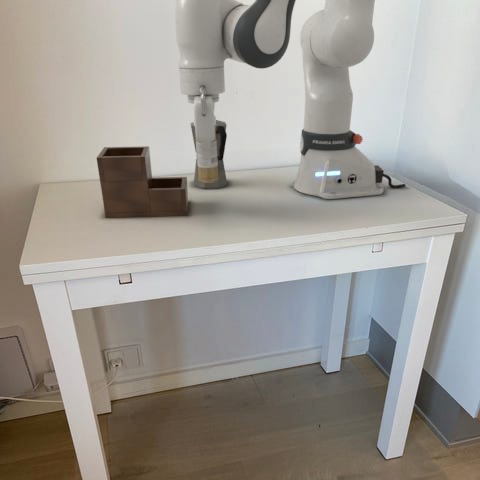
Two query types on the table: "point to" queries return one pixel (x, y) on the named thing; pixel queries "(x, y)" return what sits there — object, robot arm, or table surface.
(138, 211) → the caddy
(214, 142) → the sprinkles bottle
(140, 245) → the table surface
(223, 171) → the coffeepot
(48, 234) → the table surface
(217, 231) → the table surface
